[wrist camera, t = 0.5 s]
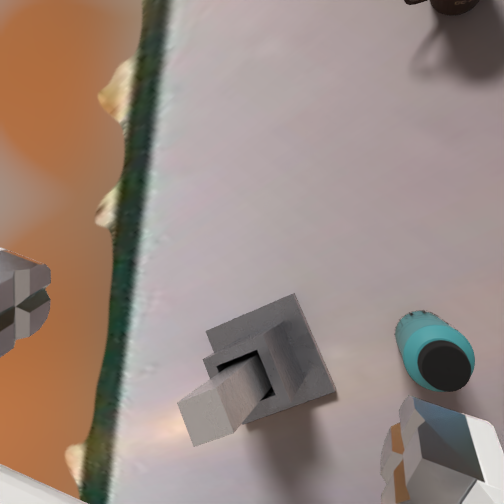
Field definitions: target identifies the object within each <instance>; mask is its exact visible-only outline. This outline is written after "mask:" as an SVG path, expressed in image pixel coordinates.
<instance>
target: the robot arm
mask: <svg viewBox="0 0 504 504" xmlns="http://www.w3.org/2000/svg"><path fill="white" fill-rule="evenodd" d="M50 283H51V273H50V269H49V268H48V267H47V266H46V265H45V264H43V263H40V262H38V261H35V260H32V259H30V258H27V257H25V256H22V255H19V254H17V253H14V252H11V251H8V250H6V249H3V248H1V247H0V357H1V356H3V355H4V354H6V353H7V352H9V351H10V350H11V349H13V348H14V345H15V340H17V339H22V338H25V337H30V336H31V335H32V334H34V333H35V332H36V331H38V330H39V329H40V328H41V326H42V325H43V323H44V322H45V320H46V319H47V317H48V313H49V310H50V298H49V296H48V294H47V292H46V291H45V288H46V287H47V286H48V285H49V284H50ZM399 415H400V423H397V424H395V425H393V426H391V427H390V430H389V432H388V434H387V436H386V438H385V442H384V445H383V449H382V453H381V463H380V467H381V476H382V477H383V479H384V481H385V482H386V486H385V488H384V490H383V492H382V494H381V504H504V453H503V450H502V448H501V445H500V442H499V440H498V437H497V435H496V432H495V429H494V427H493V426H492V425H491V424H490V423H489V422H488V421H485V420H482V419H479V418H476V417H473V416H470V415H467V414H464V413H459V412H456V411H453V410H450V409H447V408H444V407H441V406H438V405H436V404H433V403H430V402H427V401H424V400H421V399H418V398H415V397H412V396H410V395H408V397H407V398H406V399H405V400H404V402H403V404H402V405H401V407H400V409H399ZM0 504H88V503H85V502H83V501H81V500H79V499H76V498H74V497H72V496H70V495H68V494H65V493H63V492H61V491H59V490H56V489H54V488H52V487H50V486H48V485H46V484H43V483H41V482H39V481H37V480H35V479H32V478H30V477H28V476H25V475H24V474H21V473H19V472H17V471H14V470H12V469H10V468H8V467H6V466H4V465H1V464H0Z"/></svg>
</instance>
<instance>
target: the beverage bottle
mask: <svg viewBox="0 0 504 504" xmlns="http://www.w3.org/2000/svg"><path fill="white" fill-rule="evenodd" d="M402 317H403V316H402ZM402 317H401V318H402ZM397 323H398V325H396V326H397V327H396V331H395V337H396V342H397V344H398V347H399V350H400V352H401V354H402V357H403V361H404V365H405V368H406V370H407V372H408V374H409V375H410V377H411V378H412V379H413V380H414V381H415V382H416V383H418V384H419V385H420V386H422V387H424V388H426V389H429V390H432V391H437V392H450V391H456V390H459V389H461V388H462V387H464V386H465V385H466V384H467V382H468V381H469V379H470V376H471V375H472V373H473V370H474V365H475V357H474V352H473V349H472V347H471V345H470V343H469V342H468V340H467V339H466V338H465V337H464V336H463V335H462V334H461V333H460V332H458V331H457V329H456V330H455V329H453V328H454V327H453V328H452V327H451V325H450V326H449V325H448V324H449V323H447V324H446V322H445V321H442V320H441V319H439V318H438V317H437V315H436V316H435V314H434V315H433V313H432V314H431V312H430V313H429V312H425V310H424V311H423V310H419V311H415V312H414V311H413V312H411V313H409V314H407V315H405V316H404V317H403V318H402V319H401V320H400V321H399V322H397ZM401 354H400V355H401Z"/></svg>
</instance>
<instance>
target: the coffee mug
mask: <svg viewBox="0 0 504 504" xmlns="http://www.w3.org/2000/svg"><path fill="white" fill-rule="evenodd" d="M404 1H405V2H406V4H409V5H412V4H418V3H421V2H424V1H427V0H404ZM478 1H479V0H430V2H431V4H432V6H433V7H434V8H435V9H436V10H437V11H438V12H440V13H442V14H445V15H459V14H462V13H465V12H467V11H469V10H470V9H471V8H473V7H474V6H475V5H476V4H477V3H478Z"/></svg>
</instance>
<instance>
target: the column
mask: <svg viewBox="0 0 504 504" xmlns="http://www.w3.org/2000/svg"><path fill="white" fill-rule="evenodd" d="M271 387H272V385H271V382H270V380H269V378H268V375H267V373H266V370H265V368H264V365H263V363H262V361H261V358H260V356H259V353H258V351H257V350H255V351H252V352H250V353H247V354H245V355H244V356H242V357H241V358H239V359H238V360H237V361H235V362H234V363H232V364H231V365H230V366H228V367H227V368H225V369H224V370H222V371H221V372H220V373H218V374H217V375H215V376H214V377H213V378H211V379H210V380H208V381H207V382H206V383H204V384H203V385H201V386H200V387H199V388H197V389H196V390H194V391H193V392H192V393H190V394H189V395H187V396H186V397H185V398H183V399H182V400H180V401H179V402H178V403H177V404H178V406H179V409H180V412H181V414H182V417H183V420H184V422H185V425H186V427H187V430H188V433H189V435H190V438H191V441H192V443H193V446H194V447H195V446H198V445H201V444H204V443H207V442H210V441H212V440H215V439H218V438H221V437H224V436H227V435H229V434H232V433H234V432H235V431H236V430H237V428H238V427H239V426H240V425H241V424H242V422H243V421H244V420H245V419H246V417H247V416H248V415H249V414H250V412H251V411H252V410H253V409H254V408H255V406H256V405H257V404H258V403H259V401H260V400H261V399H262V398H263V396H264V395H265V394H266V393H267V392H268V390H269V389H270V388H271Z"/></svg>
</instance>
